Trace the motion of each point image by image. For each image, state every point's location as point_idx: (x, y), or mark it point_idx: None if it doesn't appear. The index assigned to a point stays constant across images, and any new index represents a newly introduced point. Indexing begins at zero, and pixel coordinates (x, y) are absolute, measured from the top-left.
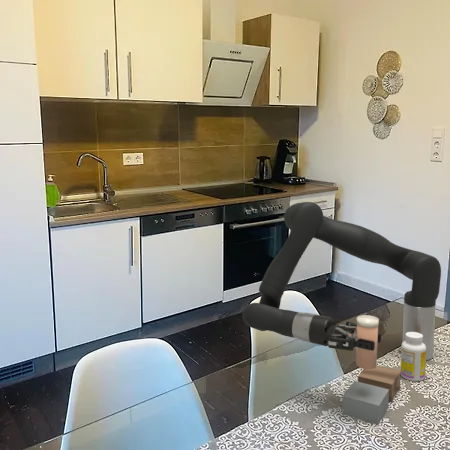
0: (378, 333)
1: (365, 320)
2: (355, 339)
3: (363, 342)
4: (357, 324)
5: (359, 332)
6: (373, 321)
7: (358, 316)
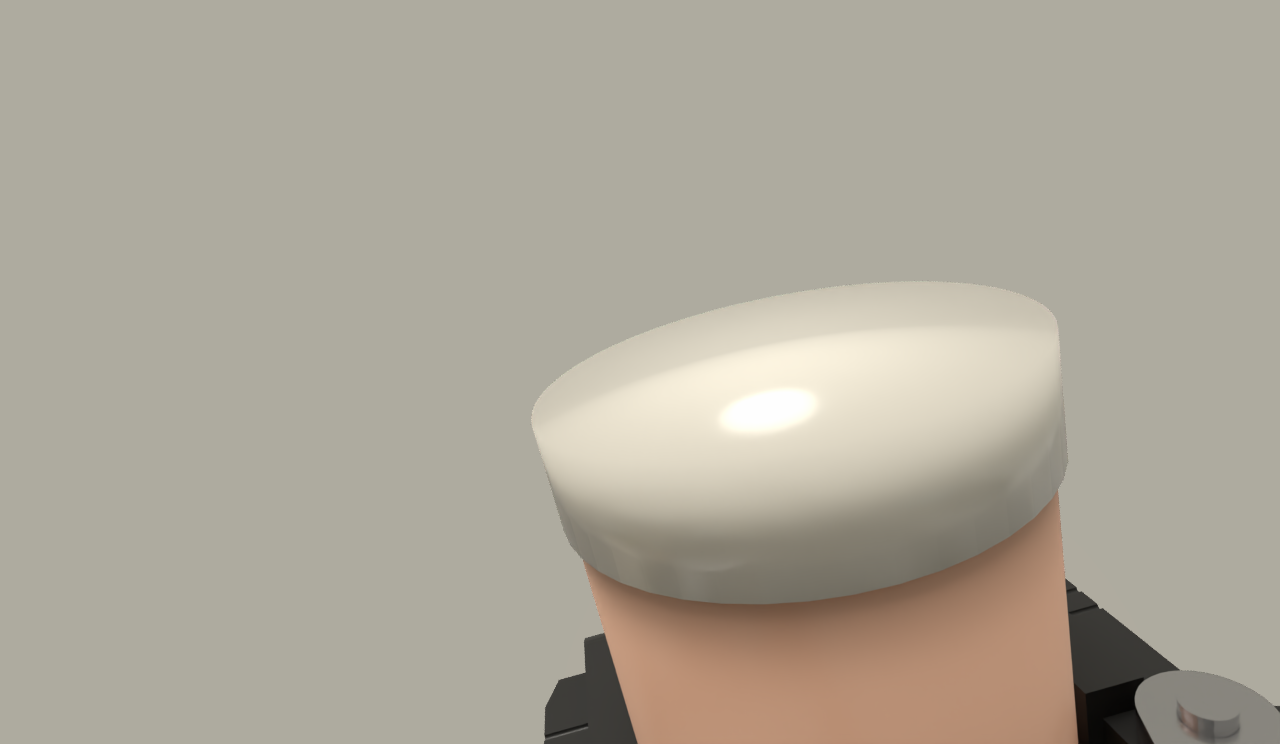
0: (599, 650)
1: (905, 320)
2: (1255, 701)
3: (1101, 628)
4: (1033, 527)
5: (1067, 612)
6: (812, 301)
7: (810, 448)
